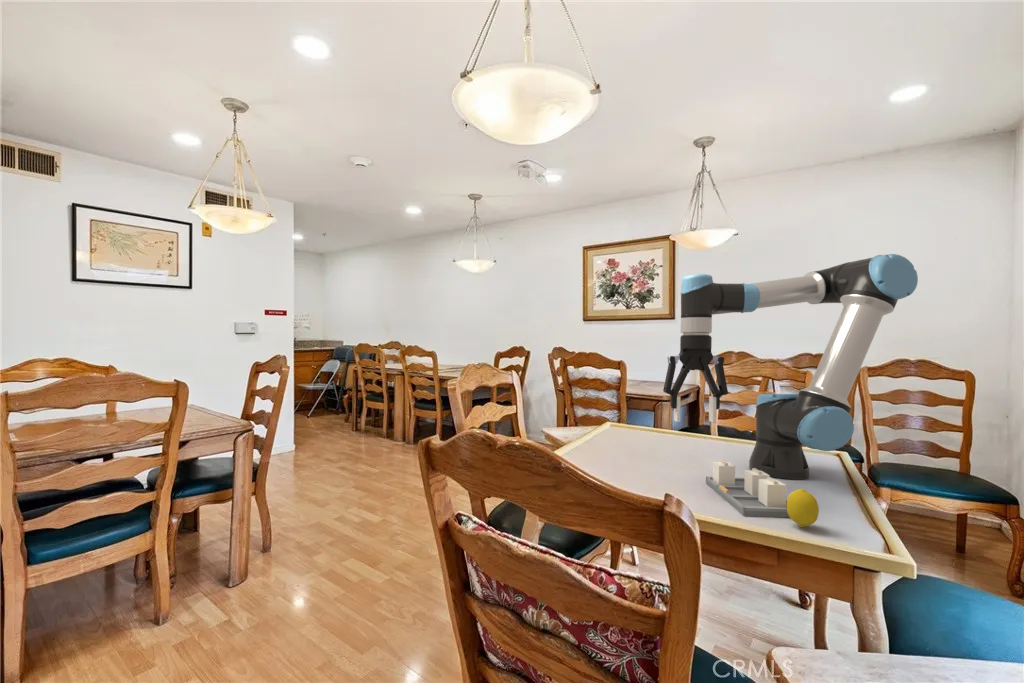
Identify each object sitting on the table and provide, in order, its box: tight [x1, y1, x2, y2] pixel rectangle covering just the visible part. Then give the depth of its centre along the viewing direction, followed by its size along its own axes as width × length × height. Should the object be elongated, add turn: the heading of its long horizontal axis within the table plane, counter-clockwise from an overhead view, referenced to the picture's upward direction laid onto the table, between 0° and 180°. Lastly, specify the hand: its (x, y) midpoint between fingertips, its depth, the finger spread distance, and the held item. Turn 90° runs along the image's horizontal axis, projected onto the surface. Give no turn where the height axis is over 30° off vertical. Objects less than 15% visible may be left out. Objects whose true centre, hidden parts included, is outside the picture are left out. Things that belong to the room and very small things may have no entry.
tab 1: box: [712, 459, 736, 486], centre depth 114 cm, size 4×4×6 cm
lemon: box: [786, 488, 820, 528], centre depth 90 cm, size 6×6×8 cm
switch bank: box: [705, 476, 791, 519], centre depth 106 cm, size 11×22×2 cm, turn 176°
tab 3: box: [758, 476, 787, 508], centre depth 99 cm, size 4×4×6 cm
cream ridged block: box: [744, 468, 771, 496], centre depth 106 cm, size 4×4×6 cm
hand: (694, 421), depth 114 cm, fingers open, 8 cm apart
